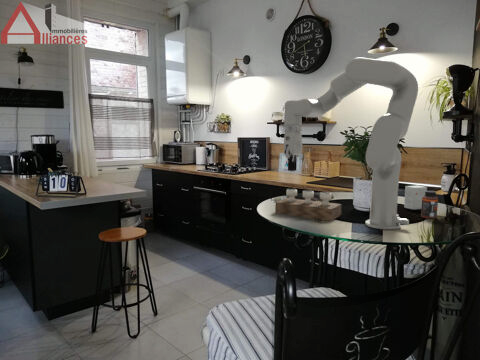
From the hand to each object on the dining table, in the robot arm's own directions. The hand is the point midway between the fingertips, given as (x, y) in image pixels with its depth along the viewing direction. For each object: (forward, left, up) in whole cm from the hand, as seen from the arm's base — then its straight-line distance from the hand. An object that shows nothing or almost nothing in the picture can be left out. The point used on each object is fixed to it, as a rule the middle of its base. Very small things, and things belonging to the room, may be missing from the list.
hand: (292, 170), depth 157 cm
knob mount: (-8, 0, -19) cm, 21 cm away
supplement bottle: (-53, -23, -19) cm, 61 cm away
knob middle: (-8, 0, -15) cm, 17 cm away
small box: (-45, -41, -19) cm, 64 cm away
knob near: (-16, 0, -15) cm, 22 cm away
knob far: (0, 0, -15) cm, 15 cm away
